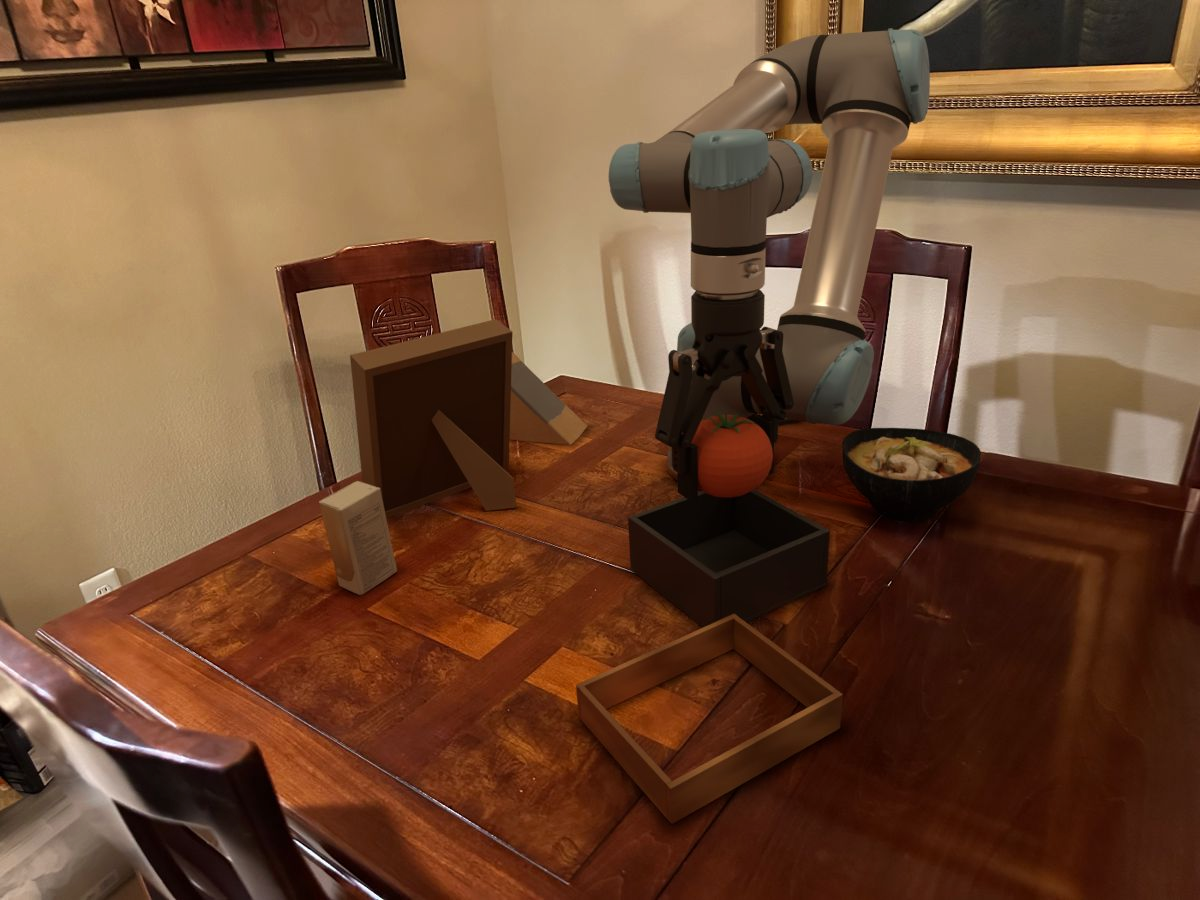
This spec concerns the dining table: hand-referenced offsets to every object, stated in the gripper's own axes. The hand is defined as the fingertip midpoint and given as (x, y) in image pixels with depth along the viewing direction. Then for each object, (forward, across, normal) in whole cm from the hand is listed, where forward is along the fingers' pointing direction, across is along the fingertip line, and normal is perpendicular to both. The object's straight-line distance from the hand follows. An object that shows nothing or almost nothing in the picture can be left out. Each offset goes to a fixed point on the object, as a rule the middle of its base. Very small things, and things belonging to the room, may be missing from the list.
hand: (726, 482), depth 96 cm
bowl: (+13, +30, -1) cm, 33 cm away
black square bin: (+13, 0, 0) cm, 13 cm away
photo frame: (+13, -19, +38) cm, 44 cm away
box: (+13, -17, -18) cm, 28 cm away
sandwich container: (+13, +3, +54) cm, 56 cm away
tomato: (+1, 0, 0) cm, 1 cm away
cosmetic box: (+13, -36, +26) cm, 46 cm away
